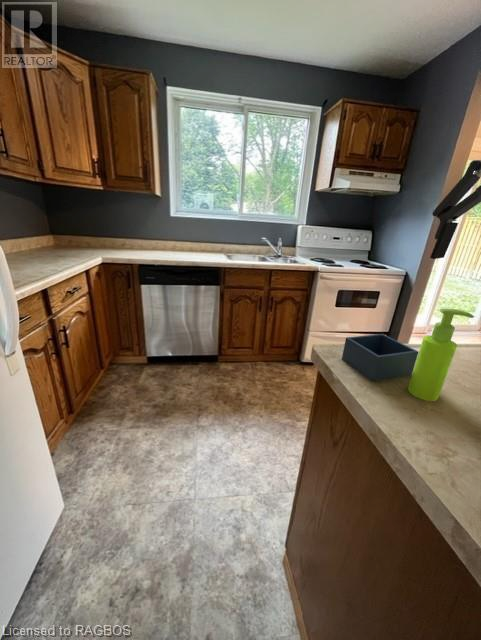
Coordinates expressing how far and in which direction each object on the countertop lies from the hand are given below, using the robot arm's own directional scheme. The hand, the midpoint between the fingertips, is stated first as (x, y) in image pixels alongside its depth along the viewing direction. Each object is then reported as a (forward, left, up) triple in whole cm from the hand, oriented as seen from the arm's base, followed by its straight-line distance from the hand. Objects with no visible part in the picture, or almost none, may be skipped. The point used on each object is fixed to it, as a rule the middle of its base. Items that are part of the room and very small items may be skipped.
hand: (471, 270), depth 47 cm
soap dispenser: (-4, -3, -29) cm, 29 cm away
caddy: (-2, -16, -29) cm, 33 cm away
